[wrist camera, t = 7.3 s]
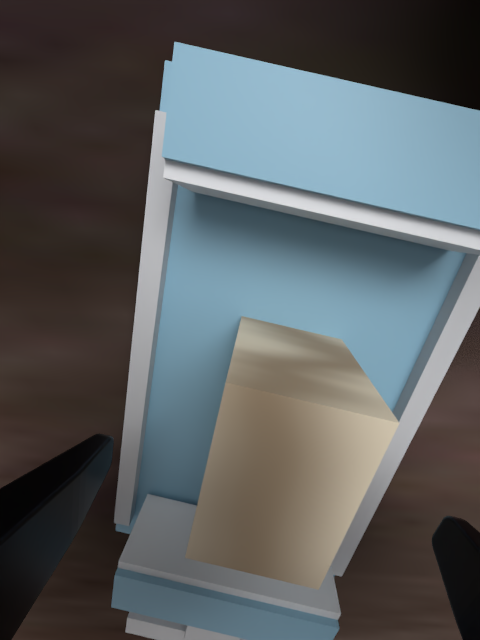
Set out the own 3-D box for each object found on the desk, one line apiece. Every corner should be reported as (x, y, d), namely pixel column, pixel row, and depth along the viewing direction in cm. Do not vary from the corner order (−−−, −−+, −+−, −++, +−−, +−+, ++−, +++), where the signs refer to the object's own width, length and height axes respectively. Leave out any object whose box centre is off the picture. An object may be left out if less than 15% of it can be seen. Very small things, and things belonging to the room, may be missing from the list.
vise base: (533, 151, 9) (722, 98, 5) (329, 571, 16) (350, 679, 12) (170, 68, 9) (105, -41, 5) (119, 521, 16) (75, 613, 12)
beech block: (341, 339, 11) (399, 422, 6) (298, 457, 13) (318, 589, 8) (241, 316, 11) (225, 381, 6) (213, 437, 13) (184, 557, 8)
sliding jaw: (324, 530, 14) (342, 622, 11) (291, 605, 16) (298, 702, 13) (149, 489, 14) (115, 568, 11) (137, 569, 16) (105, 656, 13)
